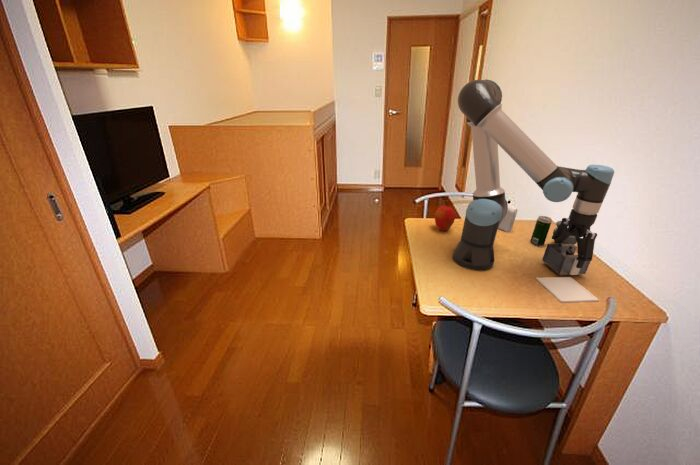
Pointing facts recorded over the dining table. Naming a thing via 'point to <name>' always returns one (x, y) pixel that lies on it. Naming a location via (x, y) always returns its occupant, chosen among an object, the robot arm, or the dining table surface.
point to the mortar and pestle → (570, 239)
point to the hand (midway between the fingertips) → (563, 266)
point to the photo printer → (508, 219)
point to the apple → (444, 217)
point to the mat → (566, 289)
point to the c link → (562, 258)
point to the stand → (570, 252)
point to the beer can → (541, 230)
